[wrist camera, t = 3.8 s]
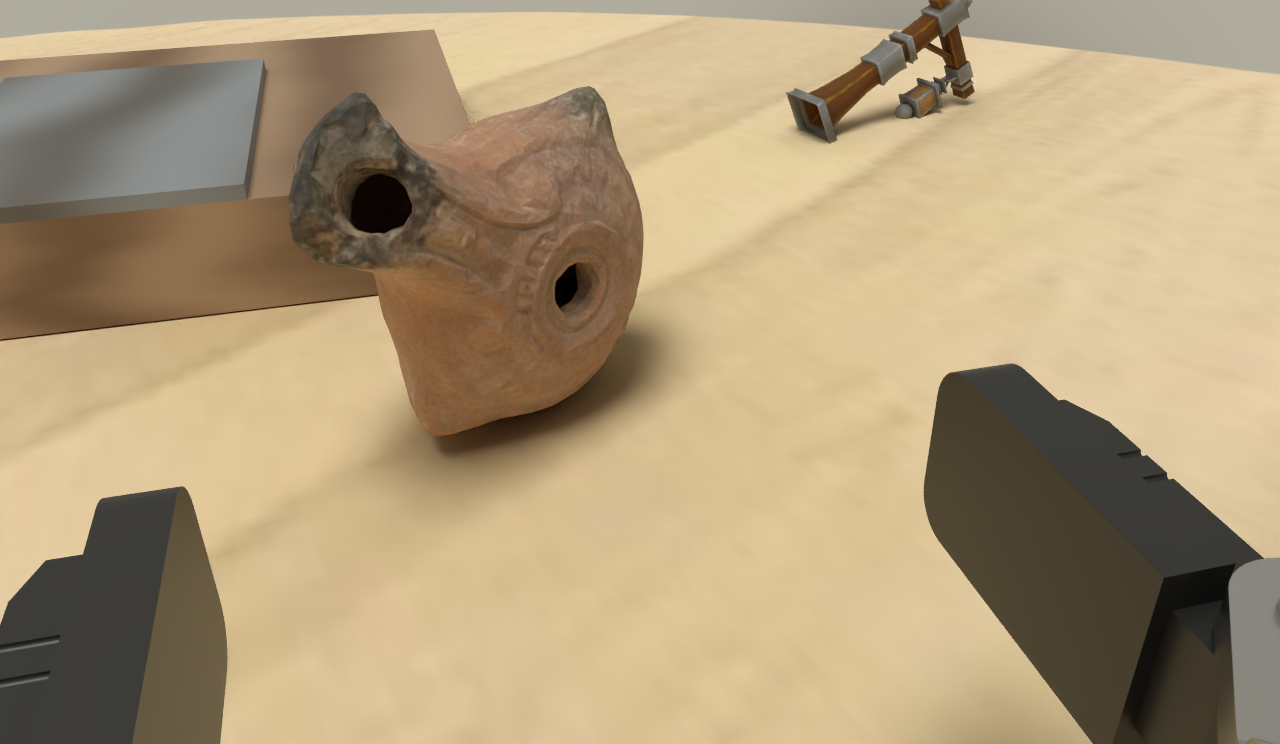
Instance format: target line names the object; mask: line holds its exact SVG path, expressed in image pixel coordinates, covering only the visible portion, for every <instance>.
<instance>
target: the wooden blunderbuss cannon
mask: <svg viewBox="0 0 1280 744" xmlns="http://www.w3.org/2000/svg"><path fill="white" fill-rule="evenodd" d="M929 3H930V5H929V6H928V7H926V8H924V9H922V10H921V12H922V16H921V17H920V18H918V19H917V20H916V21H914V22H913V23H912V24H910V25H909V26H908V27H907V28H905V29H904V30H903V31H901V32H897V31H894V32H893V33H892V34H890V35H889V38H890V40H889V41H888V40H884V39H883V40H882V41H881V43H880V44H879V45H878V46H877V47H875V48H874V49H873V50H872V51H870V52H869V53H868V54H866V55H864V56H862V57H860V58H861V61H862V62H861V63H860V64H859V65H857V66H856V67H854V68H853V69H852V70H850V71H849V72H847V73H845V74H843V75H842V76H840V77H838V78H836V79H835V80H833V81H831V82H829V83H828V84H826V85H824V86H822V87H820V88H819V89H817V90H814V91H812V92H810V93H806V92H803V91H801V90H798V89H796V88H795V89H794V90H793V91H791V92H786V94H787V97H788V100H789V103H790V106H791V109H792V112H793V115H794V118H795V121H796V124H797V127H798V130H803V129H804V130H807V131H809V132H811V133H813V134H816V135H818V136H820V137H822V138H824V139H827V140H828V141H829V144H830V143H831V142H833V141H834V140H837V138H836V135H835V132H834V129H833V128H834V127H835V125H836V124H837V123H838V122H839V120H840V119H841V118H842V117H843V116H844V115H845V114H846V113H847V112H848V111H849V110H850V109H851V108H852V107H853V106H854V105H855V104H856V103H857V102H858V101H859V100H860V99H861V98H862V97H863V96H864V95H865V94H866V93H867V92H869V91H870V90H871V89H872V88H874V87H875V86H876V85H878V84H880V85H883V86H884V85H885V84H886V82H887V81H888V80H889V79H890V78H892V77H893V76H894V75H896V74H897V73H898V72H900V71H901V70H904V69H906V68H907V66H906V62H909V63H912V64H913V62H914V61H915V60H917V59H918V57H917V53H918V52H919V51H920V50H922V49H923V48H927V49H929V50H930V51H932V52H934V53H936V54H938V55H940V56H942V57H943V59H944V61H945V63H946V65H945V66H944V68H945V72H946V76H945V77H943V78H941V79H938V78H935V77H933V79H934V82H929V81H926V80H924V79H921V78H917V83H918V86H916V87H915V88H913V89H912V90H910V91H908V92H907V93H905V94H899V99H900V103H901V105H899V106H898V107H897V109H896V116H897V117H898V118H901V119H908V118H910V117H911V116H915V117H917V118H921V117H923V116H924V115H925V114H926V113H927V112H928V111H929V110H930V109H931V108H933V107H934V106H935V107H938V108H942V102H941V98H940V94H941V95H942V92H943V93H947V91H946V87H947V86H948V83H949V82H951V88H952V89H953V95H955V96H958V97H961V98H964V99H966V98H967V97H968V96H970V95H971V94H972V93H974V92H975V91H974V88H973V85H972V84H973V82H972V81H971V78H972V77H973V74H972V70H971V65H970V62H969V61H966V57H965V53H964V48H963V44H962V40H961V36H960V32H959V28H958V24H959V23H960V22H962V21H963V20H964V19H967V18H969V13H968V7H969V6H970V5H971V3H972V0H929ZM938 35H939V37H940V41H941V45H942V49H943V50H942V49H940V48H938V47H936V46H934V45H933V44H931V43H930V42H931V41H932V40H933V39H935V38H936V37H937V36H938ZM945 79H946V80H945ZM945 82H946V85H945Z"/></svg>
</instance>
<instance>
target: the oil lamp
mask: <svg viewBox="0 0 1280 744" xmlns="http://www.w3.org/2000/svg"><path fill="white" fill-rule="evenodd" d="M289 225H290V229H291V233H292V238H293V241H294V242H295V244H296V245H297V246H298V247H299V248H300V249H301V250H303V251H304V252H305V253H307V254H308V255H309V256H310V257H312V258H313V259H314V260H316V261H319V262H322V263H324V264H327V265H330V266H337V267H345V268H352V269H357V270H363V271H368V272H372V273H373V274H374V276H375V280H376V285H377V290H378V295H379V300H380V305H381V309H382V313H383V316H384V319H385V321H386V324H387V326H388V328H389V331H390V334H391V337H392V339H393V342H394V345H395V348H396V351H397V354H398V357H399V362H400V366H401V370H402V374H403V378H404V381H405V385H406V388H407V392H408V396H409V399H410V403H411V405H412V407H413V409H414V411H415V413H416V415H417V417H418V419H419V421H420V423H421V425H422V426H423V427H424V428H425V429H426V430H427V431H428V432H429V433H430V434H431V435H432V436H446V435H451V434H454V433H458V432H461V431H464V430H468V429H471V428H474V427H477V426H481V425H483V424H486V423H489V422H491V421H494V420H498V419H502V418H505V417H512V416H517V415H522V414H529V413H532V412H535V411H539V410H542V409H545V408H548V407H550V406H553V405H555V404H557V403H558V402H560V401H562V400H563V399H565V398H567V397H568V396H570V395H572V394H574V393H575V392H576V391H577V390H579V389H580V388H581V387H582V386H583V385H585V384H586V383H587V382H588V381H589V380H590V379H591V378H592V376H593V375H594V374H595V373H596V372H597V371H598V370H599V369H600V368H601V367H602V366H603V364H604V363H605V361H606V360H607V358H608V357H609V355H610V353H611V352H612V350H613V349H614V347H615V346H616V344H617V342H618V340H619V338H620V336H621V334H622V333H623V331H624V329H625V327H626V324H627V322H628V318H629V314H630V312H631V310H632V308H633V305H634V302H635V298H636V294H637V288H638V284H639V280H640V275H641V266H642V255H643V223H642V214H641V209H640V205H639V200H638V197H637V194H636V191H635V188H634V185H633V182H632V179H631V176H630V174H629V172H628V171H627V169H626V167H625V165H624V162H623V160H622V158H621V156H620V154H619V152H618V150H617V146H616V143H615V139H614V136H613V131H612V127H611V123H610V118H609V115H608V112H607V108H606V105H605V102H604V100H603V99H602V98H601V96H600V95H599V94H598V93H597V91H596V90H595V89H594V88H592V87H589V86H588V87H580V88H576V89H573V90H571V91H569V92H567V93H564V94H562V95H560V96H557V97H555V98H553V99H550V100H548V101H546V102H543V103H540V104H537V105H534V106H530V107H526V108H523V109H519V110H515V111H511V112H506V113H502V114H499V115H495V116H492V117H489V118H485V119H483V120H481V121H478V122H476V123H473V124H471V125H469V126H467V127H464V128H462V129H461V130H459V131H457V132H456V133H454V134H453V135H451V136H449V137H448V138H446V139H444V140H442V141H441V142H439V143H434V144H419V143H414V142H411V141H407V140H404V139H401V138H400V136H399V135H398V133H397V132H396V130H395V129H394V127H393V126H392V125H391V124H390V123H389V122H388V121H386V120H385V119H384V118H383V117H382V116H381V114H380V112H379V111H378V109H377V107H376V105H375V104H374V103H373V102H372V101H371V100H370V99H369V97H368V96H367V95H366V94H365V93H357V92H354V93H353V94H351V95H350V96H348V97H347V98H346V99H344V100H343V101H341V102H340V103H339V104H337V105H336V106H335V107H333V108H332V109H331V110H330V111H329V112H328V113H326V114H325V115H324V116H323V117H322V119H321V120H320V121H319V122H318V123H317V124H316V125H315V127H314V128H313V129H312V131H311V132H310V134H309V135H308V137H307V138H306V140H305V141H304V143H303V145H302V147H301V149H300V151H299V154H298V157H297V160H296V162H295V165H294V171H293V181H292V185H291V190H290V194H289Z"/></svg>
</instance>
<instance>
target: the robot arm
mask: <svg viewBox="0 0 1280 744" xmlns="http://www.w3.org/2000/svg"><path fill="white" fill-rule="evenodd" d="M924 502H925V508H926V512H927V516H928V520H929V523H930V525H931V528H932V530H933V532H934V534H935V536H936V537H937V539H938V540H939V542H940V543H941V544H942V546H943V547H944V548H945V550H946V551H947V552H948V554H949V555H950V556H951V558H952V559H953V560H954V562H955V563H956V564H957V565H958V567H959V568H960V569H961V571H962V572H963V573H964V575H965V576H966V577H967V579H968V580H969V581H970V583H971V584H972V585H973V586H974V588H975V589H976V590H977V592H978V593H979V594H980V596H981V597H982V598H983V600H984V601H985V602H986V604H987V605H988V606H989V608H990V609H991V610H992V611H993V613H994V614H995V615H996V617H997V618H998V619H999V621H1000V622H1001V623H1002V625H1003V626H1004V627H1005V629H1006V630H1007V631H1008V633H1009V634H1010V635H1011V636H1012V638H1013V639H1014V640H1015V642H1016V643H1017V644H1018V646H1019V647H1020V648H1021V650H1022V651H1023V652H1024V654H1025V655H1026V656H1027V657H1028V659H1029V660H1030V661H1031V663H1032V664H1033V665H1034V667H1035V668H1036V669H1037V671H1038V672H1039V673H1040V675H1041V676H1042V677H1043V679H1044V680H1045V681H1046V682H1047V684H1048V685H1049V686H1050V688H1051V689H1052V690H1053V692H1054V693H1055V694H1056V696H1057V697H1058V698H1059V700H1060V701H1061V702H1062V704H1063V705H1064V706H1065V707H1066V709H1067V710H1068V711H1069V713H1070V714H1071V715H1072V717H1073V718H1074V719H1075V721H1076V722H1077V723H1078V725H1079V726H1080V727H1081V729H1082V730H1083V731H1084V732H1085V734H1086V735H1087V736H1088V738H1089V739H1090V740H1091V742H1092V743H1093V744H1280V558H1265V559H1264V558H1263V557H1262V556H1261V555H1259V554H1258V553H1257V552H1256V551H1255V550H1254V549H1253V548H1251V547H1250V546H1249V545H1248V544H1247V543H1246V542H1245V541H1244V540H1242V539H1241V538H1240V537H1239V536H1238V535H1237V534H1236V533H1234V532H1233V531H1232V530H1231V529H1230V528H1229V527H1228V526H1227V525H1225V524H1224V523H1223V522H1222V521H1221V520H1220V519H1219V518H1217V517H1216V516H1215V515H1214V514H1213V513H1212V512H1211V511H1210V510H1208V509H1207V508H1206V507H1205V506H1204V505H1203V504H1202V503H1200V502H1199V501H1198V500H1197V499H1196V498H1195V497H1194V496H1193V495H1191V494H1190V493H1189V492H1188V491H1187V490H1186V489H1185V488H1184V487H1182V486H1181V485H1180V484H1179V483H1178V482H1177V481H1176V480H1174V479H1170V480H1169V479H1168V478H1167V472H1165V471H1164V470H1163V469H1162V468H1161V467H1160V466H1159V465H1157V464H1156V463H1155V462H1154V461H1153V460H1152V459H1151V458H1150V457H1148V456H1147V455H1146V456H1142V455H1141V450H1140V449H1139V448H1138V447H1137V446H1136V445H1135V444H1134V443H1133V442H1131V441H1130V440H1129V439H1128V438H1127V437H1126V436H1125V435H1123V434H1122V433H1121V432H1120V431H1119V430H1118V429H1117V428H1116V427H1114V426H1113V425H1112V424H1111V423H1110V422H1109V421H1107V420H1105V419H1103V418H1101V417H1099V416H1097V415H1095V414H1093V413H1091V412H1089V411H1087V410H1085V409H1082V408H1080V407H1078V406H1076V405H1074V404H1072V403H1070V402H1068V401H1066V400H1059V401H1058V400H1057V399H1056V398H1055V397H1054V396H1053V395H1052V394H1051V393H1049V392H1048V391H1047V390H1046V389H1045V388H1044V387H1043V386H1042V385H1041V384H1040V383H1039V382H1037V381H1036V380H1035V379H1034V378H1033V377H1032V376H1031V375H1030V374H1029V373H1028V372H1027V371H1025V370H1024V369H1023V368H1022V367H1020V366H1018V365H1016V364H1005V365H998V366H992V367H985V368H978V369H972V370H965V371H958V372H952V373H949V374H947V375H946V376H945V377H944V378H943V380H942V382H941V384H940V387H939V391H938V396H937V402H936V409H935V415H934V422H933V428H932V435H931V442H930V448H929V455H928V461H927V468H926V475H925V481H924ZM226 674H227V639H226V630H225V622H224V616H223V611H222V607H221V603H220V599H219V595H218V592H217V588H216V585H215V581H214V577H213V574H212V570H211V567H210V563H209V560H208V556H207V552H206V549H205V545H204V542H203V538H202V535H201V531H200V527H199V524H198V520H197V517H196V513H195V510H194V506H193V503H192V500H191V497H190V495H189V493H188V491H187V490H186V488H185V487H183V486H182V487H175V488H168V489H162V490H155V491H148V492H142V493H135V494H128V495H122V496H115V497H108V498H102V499H101V500H100V501H99V503H98V504H97V507H96V510H95V514H94V517H93V521H92V524H91V528H90V532H89V535H88V539H87V542H86V546H85V549H84V553H83V555H77V556H71V557H64V558H58V559H52V560H46V561H45V562H44V563H43V564H42V565H41V566H40V568H39V569H38V570H37V571H36V572H35V573H34V574H33V575H32V576H31V578H30V579H29V580H28V581H27V582H26V583H25V584H24V585H23V586H22V588H21V589H20V590H19V591H18V592H17V593H16V594H15V595H14V596H13V598H12V599H11V600H10V601H9V602H8V605H7V608H6V610H5V613H4V616H3V619H2V622H1V625H0V744H220V738H221V728H222V717H223V706H224V696H225V685H226Z"/></svg>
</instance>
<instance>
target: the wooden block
mask: <svg viewBox="0 0 1280 744" xmlns="http://www.w3.org/2000/svg"><path fill="white" fill-rule="evenodd" d="M354 92H357V93H365V94H366V95H367V96H368V97H369V99H370V100H371V101H372V102H373V103H374V104H375V105H376V107H377V109H378V111H379V112H380V114H381V116H382V117H383V118H384V119H385V120H386V121H388V122H389V123H390V124H391V125H392V126H393V127H394V129H395V130H396V132H397V133H398V135H399V136H400V138H401V139H404V140H407V141H411V142H414V143H419V144H434V143H439V142H441V141H442V140H444V139H446V138H448V137H449V136H451V135H453V134H454V133H456V132H457V131H459V130H461V129H462V128H464V127H467V126H469V125H470V123H469V121H468V118H467V115H466V113H465V110H464V107H463V105H462V102H461V100H460V97H459V94H458V92H457V89H456V86H455V84H454V81H453V78H452V76H451V73H450V71H449V68H448V65H447V63H446V60H445V57H444V55H443V52H442V49H441V47H440V44H439V42H438V39H437V36H436V34H435V31H434V30H423V31H409V32H395V33H381V34H367V35H353V36H339V37H325V38H311V39H297V40H283V41H269V42H255V43H241V44H228V45H214V46H200V47H186V48H172V49H158V50H144V51H130V52H116V53H102V54H88V55H74V56H60V57H46V58H32V59H19V60H5V61H0V339H9V338H17V337H25V336H34V335H42V334H50V333H59V332H67V331H75V330H84V329H92V328H100V327H109V326H117V325H125V324H134V323H142V322H151V321H159V320H167V319H176V318H184V317H192V316H201V315H209V314H217V313H226V312H234V311H242V310H251V309H259V308H267V307H276V306H284V305H292V304H301V303H309V302H317V301H326V300H334V299H342V298H351V297H359V296H367V295H376V294H378V290H377V285H376V280H375V276H374V274H373V273H372V272H368V271H363V270H357V269H352V268H345V267H337V266H330V265H327V264H324V263H322V262H319V261H316V260H314V259H313V258H312V257H310V256H309V255H308V254H307V253H305V252H304V251H303V250H301V249H300V248H299V247H298V246H297V245H296V244H295V242H294V241H293V238H292V233H291V229H290V225H289V194H290V190H291V185H292V181H293V171H294V165H295V162H296V160H297V157H298V154H299V151H300V149H301V147H302V145H303V143H304V141H305V140H306V138H307V137H308V135H309V134H310V132H311V131H312V129H313V128H314V127H315V125H316V124H317V123H318V122H319V121H320V120H321V119H322V117H323V116H324V115H325V114H326V113H328V112H329V111H330V110H331V109H332V108H333V107H335V106H336V105H337V104H339V103H340V102H341V101H343V100H344V99H346V98H347V97H348V96H350V95H351V94H353V93H354Z"/></svg>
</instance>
